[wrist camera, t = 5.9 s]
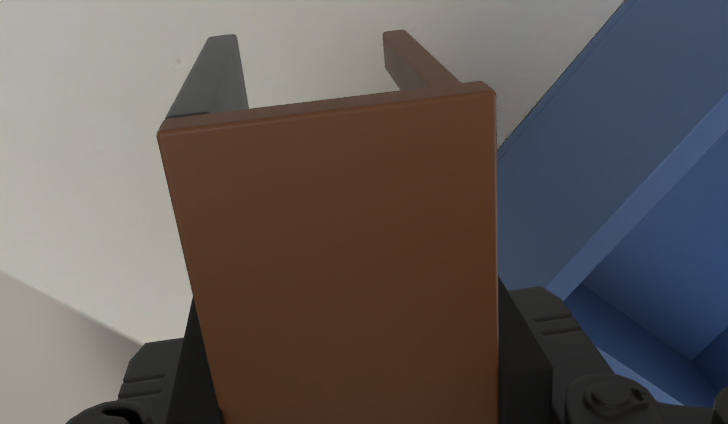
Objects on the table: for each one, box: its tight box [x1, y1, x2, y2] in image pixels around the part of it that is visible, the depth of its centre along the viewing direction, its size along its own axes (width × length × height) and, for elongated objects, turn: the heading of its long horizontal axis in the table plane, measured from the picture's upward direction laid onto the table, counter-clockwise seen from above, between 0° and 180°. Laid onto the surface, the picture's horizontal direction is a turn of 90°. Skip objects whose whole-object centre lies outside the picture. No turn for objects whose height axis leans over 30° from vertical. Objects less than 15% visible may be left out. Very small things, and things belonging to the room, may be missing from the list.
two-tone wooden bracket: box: [157, 30, 499, 424], centre depth 13 cm, size 4×11×7 cm, turn 5°
